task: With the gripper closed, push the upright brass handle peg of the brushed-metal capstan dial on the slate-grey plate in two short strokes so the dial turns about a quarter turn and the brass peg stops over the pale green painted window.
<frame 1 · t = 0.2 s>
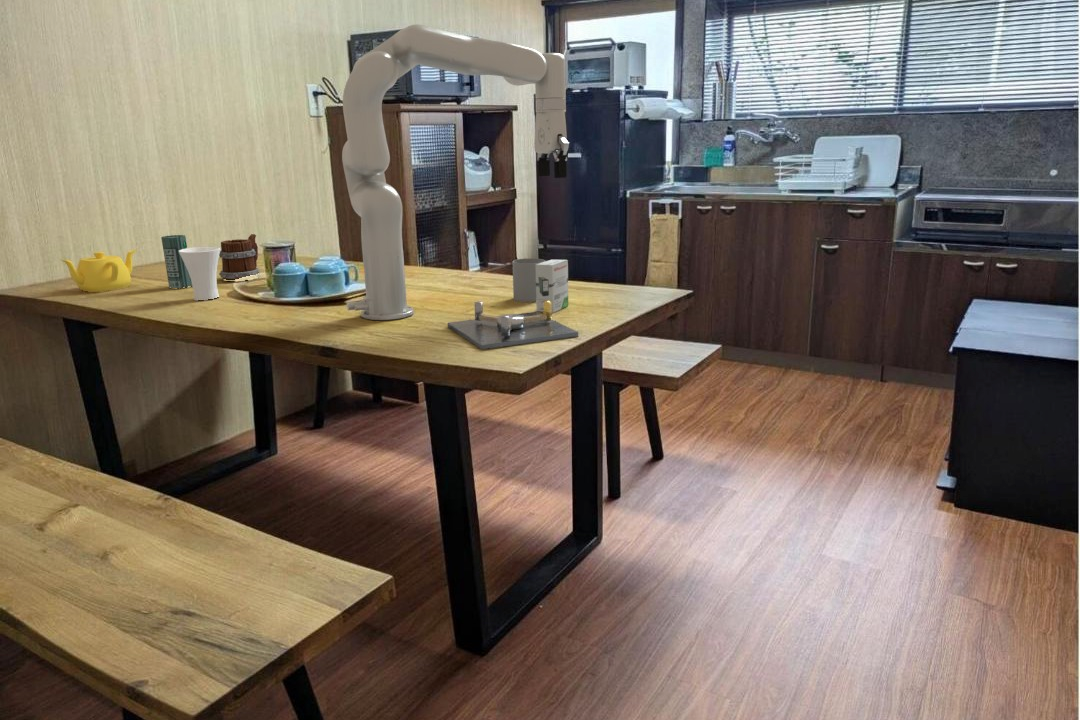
hand: (551, 176, 200), 31 cm above the table, fingers open, 9 cm apart
cup 2: (206, 299, 215), on the table
capstan: (519, 314, 173), point 4 cm above the table, hinge at 0.0°
stand plate: (511, 331, 173), on the table
cup: (529, 299, 206), on the table
teal patterned carton: (181, 287, 232), on the table
ink box: (552, 309, 194), on the table
mug: (243, 278, 244), on the table
teapot: (108, 289, 232), on the table
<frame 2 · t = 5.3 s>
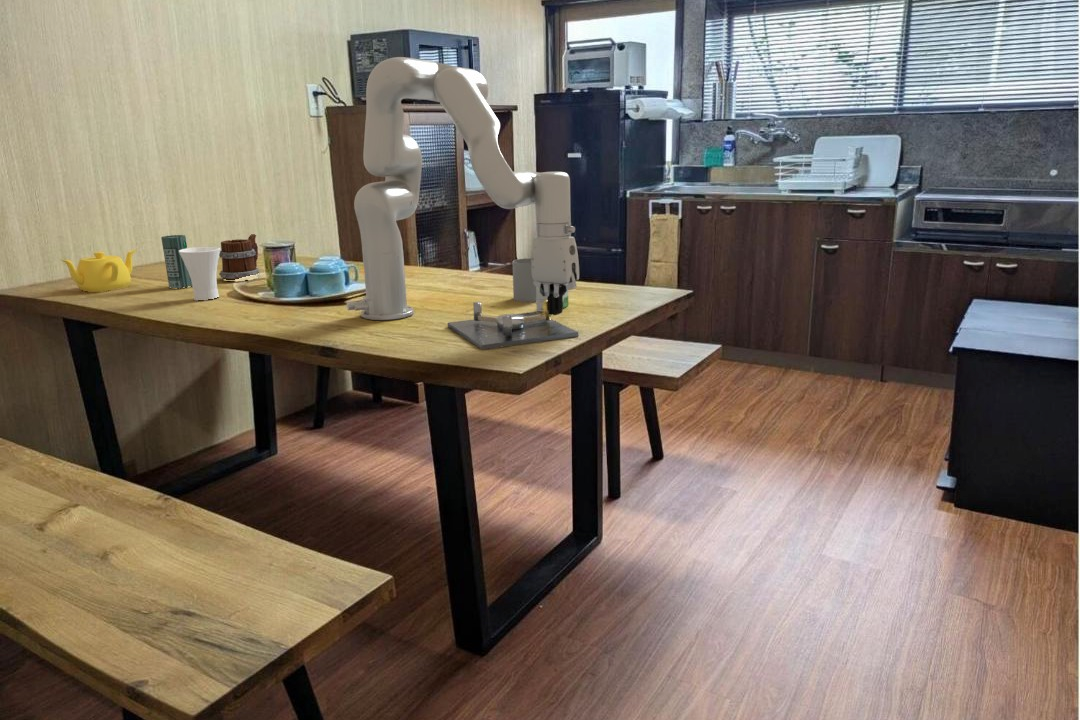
hand: (555, 313, 174), 3 cm above the table, fingers closed
capstan: (519, 314, 173), point 4 cm above the table, hinge at 2.8°, touching gripper
everything else where it was.
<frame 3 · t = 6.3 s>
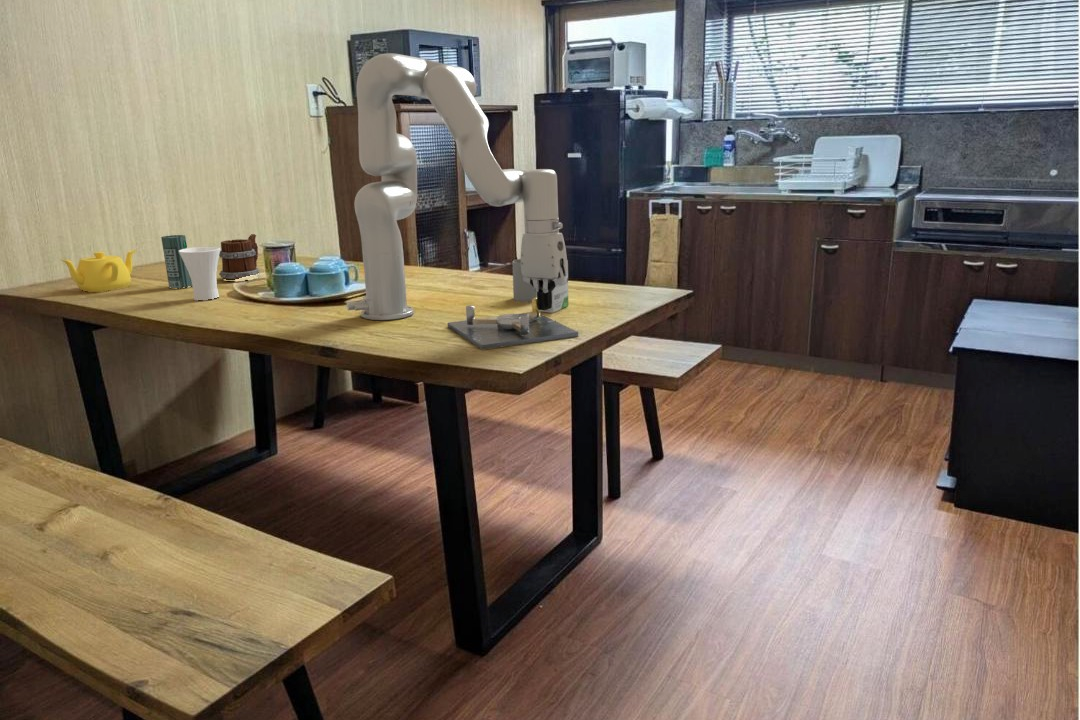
hand: (544, 308, 177), 4 cm above the table, fingers closed
capstan: (517, 313, 174), point 4 cm above the table, hinge at 26.6°, touching gripper
everything else where it was.
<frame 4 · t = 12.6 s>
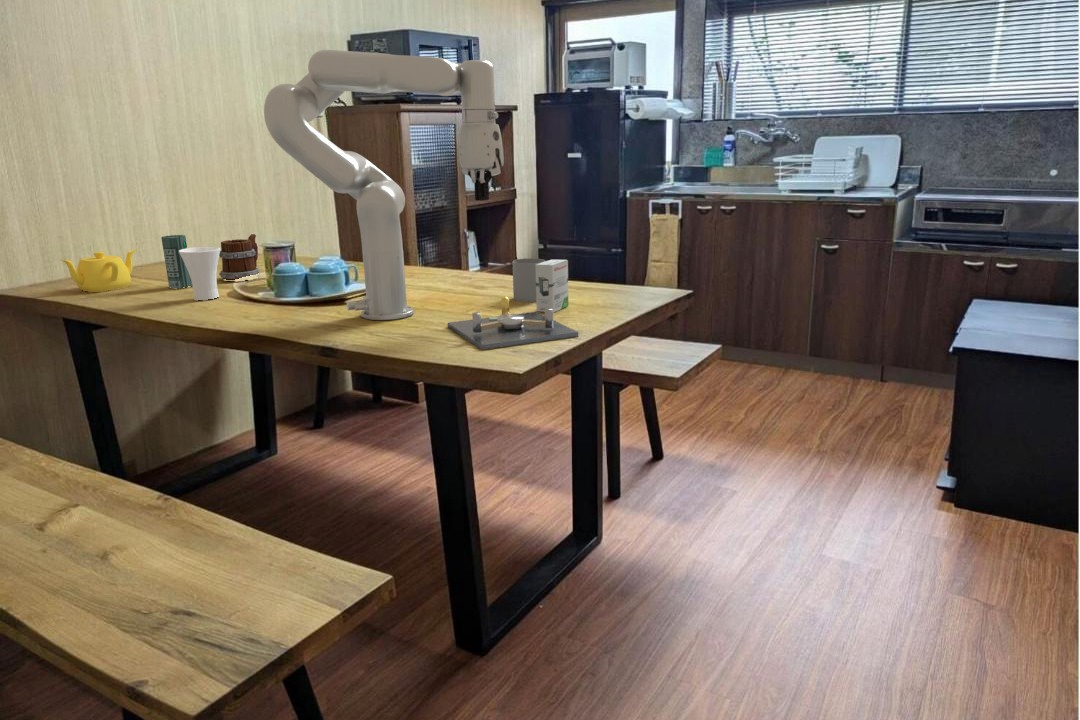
hand: (482, 200, 183), 27 cm above the table, fingers closed
capstan: (509, 313, 174), point 4 cm above the table, hinge at 74.6°
everything else where it was.
at the end: capstan at +75° (first picture: +0°) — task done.
